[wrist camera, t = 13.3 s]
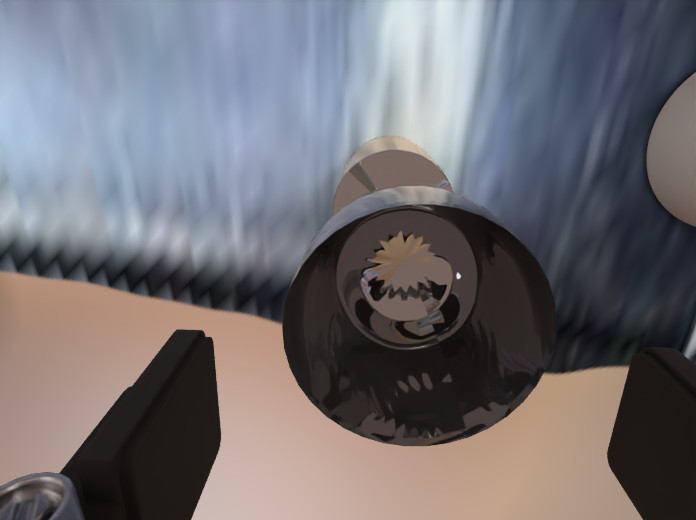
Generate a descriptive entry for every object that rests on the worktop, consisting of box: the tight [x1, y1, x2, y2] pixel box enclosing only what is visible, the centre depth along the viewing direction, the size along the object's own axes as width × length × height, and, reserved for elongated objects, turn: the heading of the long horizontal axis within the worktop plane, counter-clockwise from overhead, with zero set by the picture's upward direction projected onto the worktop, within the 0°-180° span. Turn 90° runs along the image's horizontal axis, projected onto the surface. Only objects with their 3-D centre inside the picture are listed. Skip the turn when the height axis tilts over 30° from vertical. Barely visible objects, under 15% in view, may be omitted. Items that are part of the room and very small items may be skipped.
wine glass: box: [282, 150, 556, 446], centre depth 21 cm, size 8×8×15 cm
